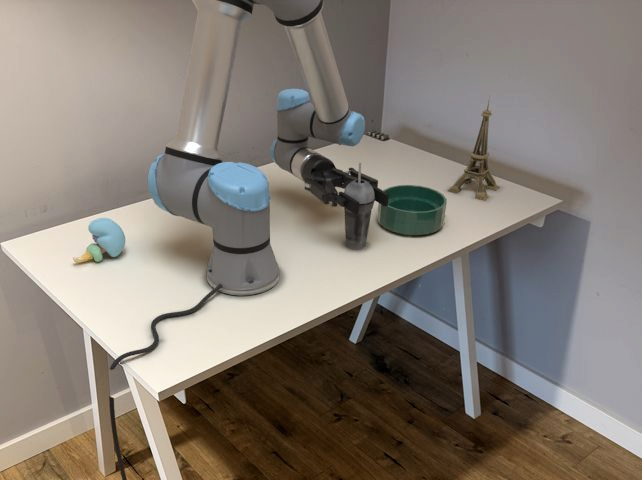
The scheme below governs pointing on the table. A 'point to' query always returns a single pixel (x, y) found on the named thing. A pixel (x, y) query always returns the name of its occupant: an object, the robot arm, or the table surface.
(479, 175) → the eiffel tower
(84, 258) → the brain model
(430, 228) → the green pet bowl
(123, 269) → the table surface
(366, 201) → the beverage cup
